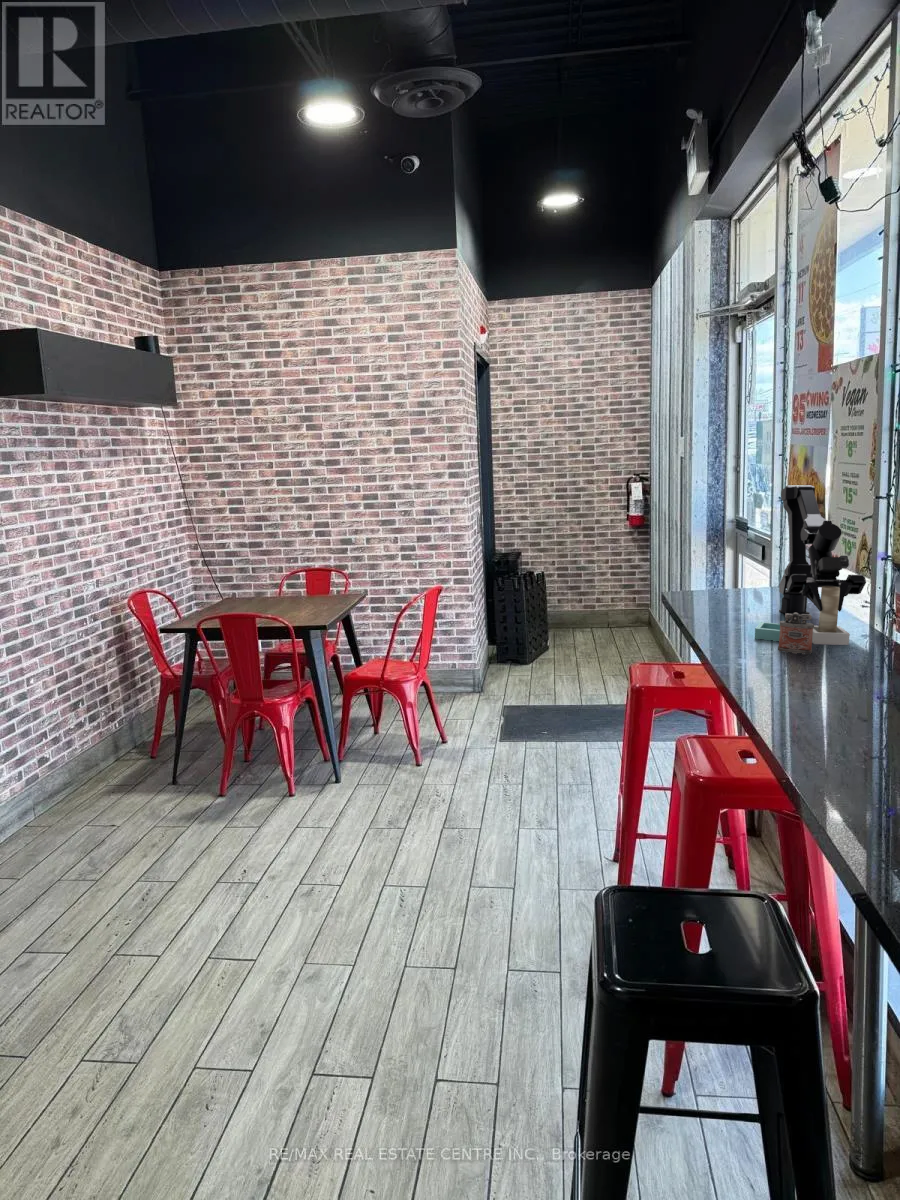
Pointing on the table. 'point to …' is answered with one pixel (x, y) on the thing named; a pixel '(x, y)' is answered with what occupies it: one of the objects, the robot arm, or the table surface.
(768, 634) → the teal socket
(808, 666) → the table surface
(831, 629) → the peg
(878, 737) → the table surface
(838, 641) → the grey socket
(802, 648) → the lighter
